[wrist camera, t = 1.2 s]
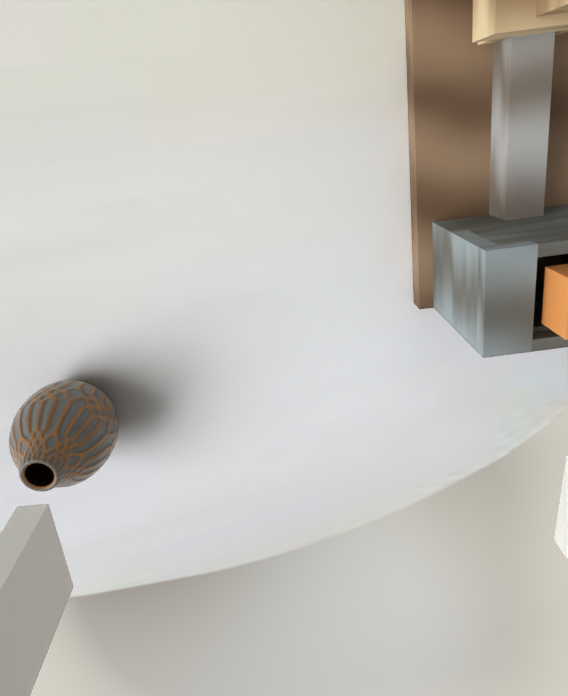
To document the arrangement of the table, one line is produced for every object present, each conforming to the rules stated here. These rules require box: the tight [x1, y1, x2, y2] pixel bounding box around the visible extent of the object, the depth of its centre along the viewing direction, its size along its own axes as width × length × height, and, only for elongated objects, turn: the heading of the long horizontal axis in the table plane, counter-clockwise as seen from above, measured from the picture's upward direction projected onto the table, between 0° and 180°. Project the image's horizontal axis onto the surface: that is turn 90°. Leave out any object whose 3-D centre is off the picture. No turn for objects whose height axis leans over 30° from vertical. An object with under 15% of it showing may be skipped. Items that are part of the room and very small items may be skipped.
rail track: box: [405, 0, 568, 358], centre depth 29 cm, size 26×12×11 cm, turn 7°
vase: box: [9, 380, 118, 491], centre depth 37 cm, size 7×7×9 cm
